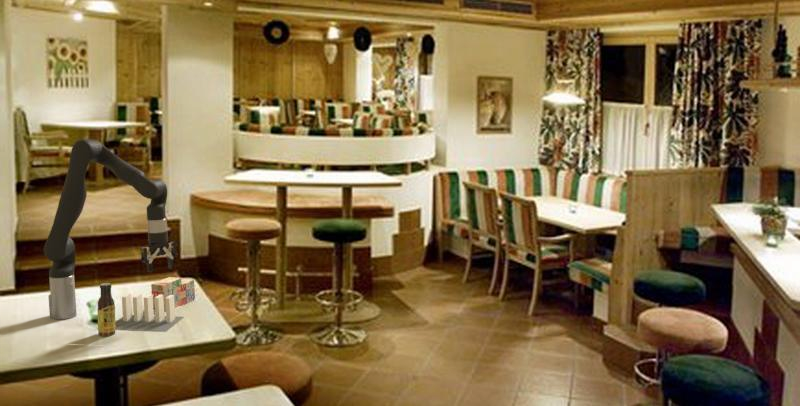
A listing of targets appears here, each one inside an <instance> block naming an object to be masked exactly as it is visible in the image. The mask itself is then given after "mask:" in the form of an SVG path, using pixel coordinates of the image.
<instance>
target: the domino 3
mask: <svg viewBox="0 0 800 406" xmlns="http://www.w3.org/2000/svg"><path fill="white" fill-rule="evenodd" d="M143 315H144V316H145V322H149V321H151V320H152V319H153V318H154V316H155V311H153V294H152V293H149V294H146V295H145V296H144V297H143Z"/></svg>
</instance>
